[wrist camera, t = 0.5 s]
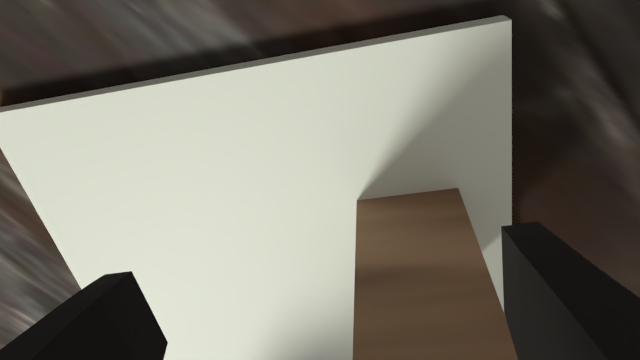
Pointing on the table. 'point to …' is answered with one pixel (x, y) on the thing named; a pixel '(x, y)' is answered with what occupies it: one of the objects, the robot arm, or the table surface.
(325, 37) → the table surface
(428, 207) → the walnut block
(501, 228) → the robot arm
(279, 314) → the board
